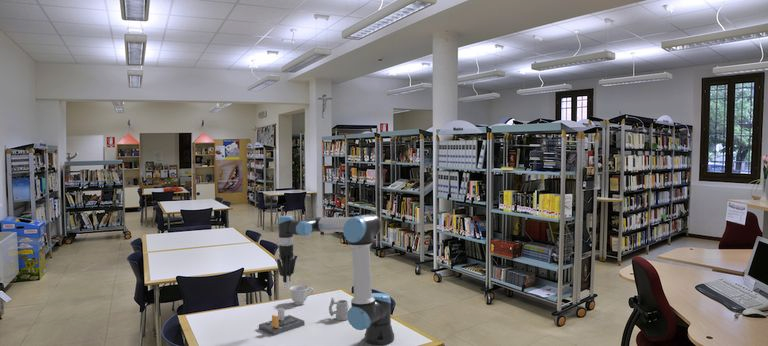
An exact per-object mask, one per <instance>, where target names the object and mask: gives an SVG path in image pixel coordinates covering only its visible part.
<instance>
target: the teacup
mask: <svg viewBox="0 0 768 346" xmlns="http://www.w3.org/2000/svg"><path fill="white" fill-rule="evenodd" d="M289 290H290V296H291V300H292V302H294V304H295V305H297V306H301V305H304V303H305V302H306V301H307V298H308V297H309V296H312V294H314V288H313V287H309V286H308V285H306V284H305V285H303V284H302V285H301V284H298V285H292V286H290V288H289ZM310 290H311V292H310ZM308 292H310V293H308Z"/></svg>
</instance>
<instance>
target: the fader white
mask: <svg viewBox="0 0 768 346" xmlns="http://www.w3.org/2000/svg"><path fill="white" fill-rule="evenodd" d="M277 316H279V320H281V321H282V320H284V317H285V308H282V307H278V308H277Z"/></svg>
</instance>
